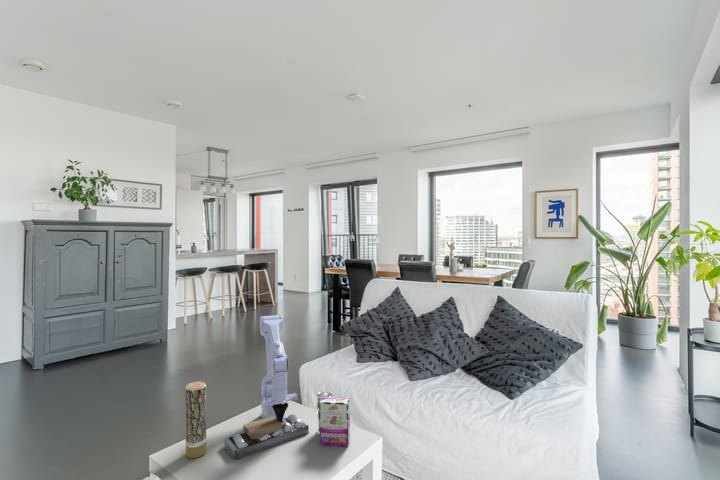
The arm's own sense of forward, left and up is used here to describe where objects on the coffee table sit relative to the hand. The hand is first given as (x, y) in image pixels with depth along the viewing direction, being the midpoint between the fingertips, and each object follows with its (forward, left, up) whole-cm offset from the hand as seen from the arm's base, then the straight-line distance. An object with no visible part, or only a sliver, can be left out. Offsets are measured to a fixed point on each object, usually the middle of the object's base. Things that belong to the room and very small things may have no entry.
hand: (279, 421), depth 148 cm
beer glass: (+9, +15, -6) cm, 19 cm away
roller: (0, -14, -5) cm, 15 cm away
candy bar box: (+18, +14, -6) cm, 24 cm away
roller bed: (0, -5, -5) cm, 7 cm away
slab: (0, -7, -1) cm, 7 cm away
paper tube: (-7, -30, -6) cm, 31 cm away
